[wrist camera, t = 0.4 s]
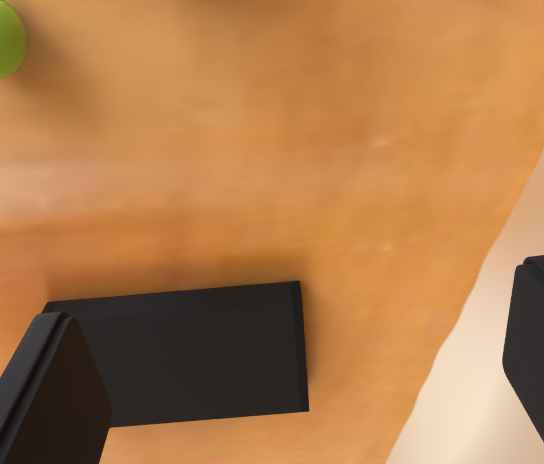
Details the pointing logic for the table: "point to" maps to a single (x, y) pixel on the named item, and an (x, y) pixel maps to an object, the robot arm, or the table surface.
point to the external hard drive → (197, 352)
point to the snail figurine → (11, 40)
